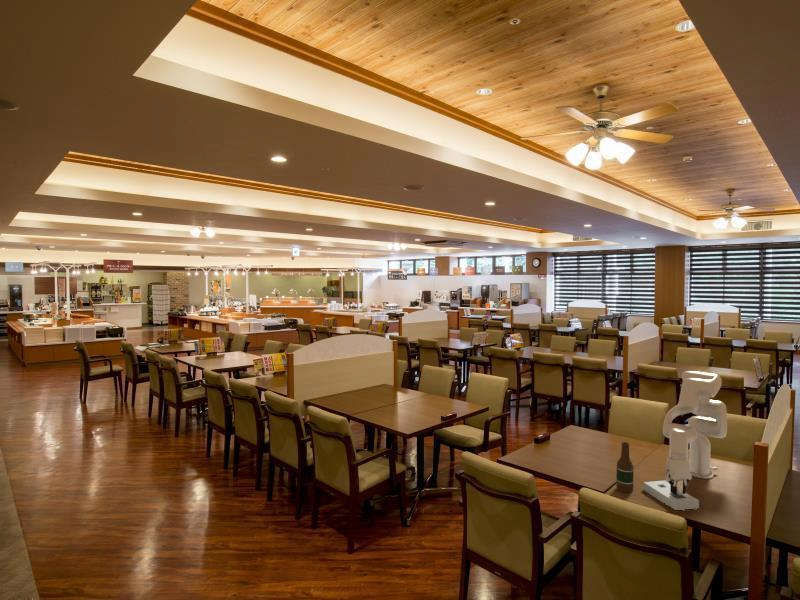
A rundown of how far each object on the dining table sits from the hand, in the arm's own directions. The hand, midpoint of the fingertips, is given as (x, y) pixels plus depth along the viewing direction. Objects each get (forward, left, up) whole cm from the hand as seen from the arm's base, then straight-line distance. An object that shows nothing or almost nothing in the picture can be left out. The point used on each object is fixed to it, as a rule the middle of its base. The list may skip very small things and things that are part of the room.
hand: (677, 492), depth 219 cm
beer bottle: (+15, -18, -5) cm, 24 cm away
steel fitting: (0, 0, -3) cm, 3 cm away
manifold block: (0, -5, -5) cm, 7 cm away
